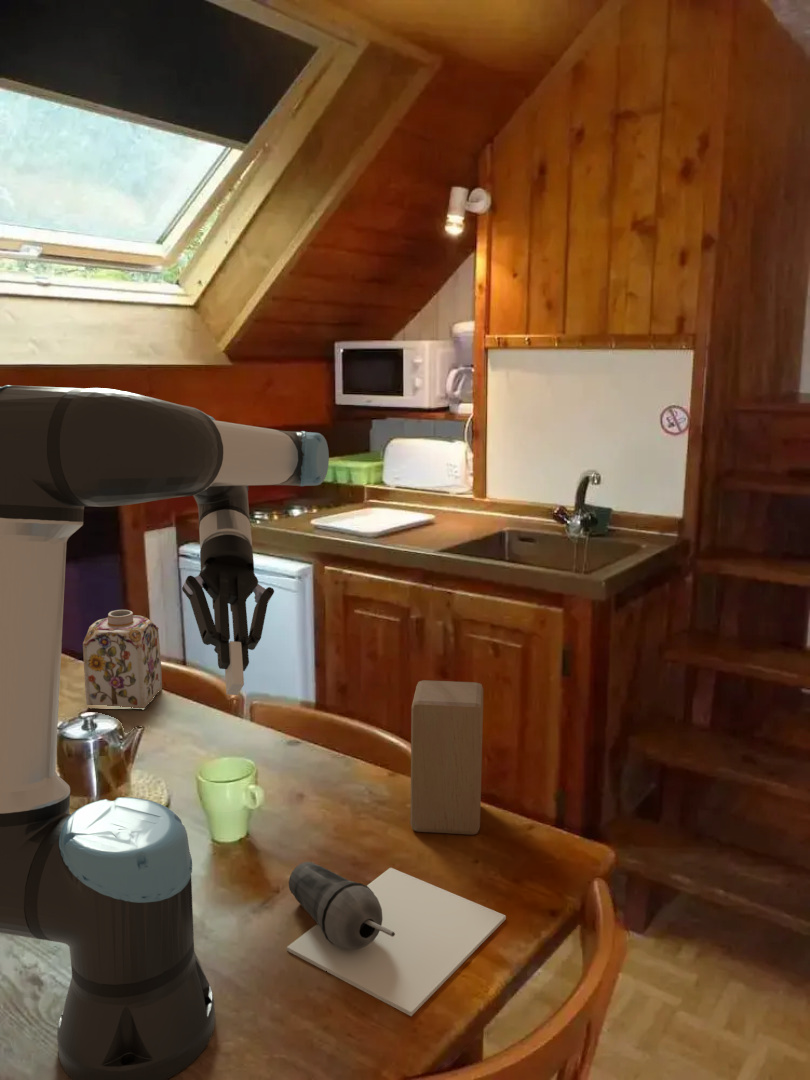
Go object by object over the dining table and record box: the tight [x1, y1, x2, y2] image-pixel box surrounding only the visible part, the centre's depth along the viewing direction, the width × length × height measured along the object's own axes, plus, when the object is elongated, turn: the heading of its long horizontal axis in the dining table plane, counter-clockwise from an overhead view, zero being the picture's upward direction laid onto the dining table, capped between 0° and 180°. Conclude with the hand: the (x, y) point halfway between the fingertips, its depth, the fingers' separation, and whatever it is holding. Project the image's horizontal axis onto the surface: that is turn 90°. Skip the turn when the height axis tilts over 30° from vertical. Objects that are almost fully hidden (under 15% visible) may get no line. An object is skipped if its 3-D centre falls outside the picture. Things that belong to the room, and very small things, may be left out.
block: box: [410, 679, 484, 836], centre depth 129 cm, size 10×10×20 cm
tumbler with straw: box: [288, 861, 395, 950], centre depth 102 cm, size 7×7×20 cm
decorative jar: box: [82, 609, 163, 709], centre depth 173 cm, size 12×12×18 cm
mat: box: [286, 867, 507, 1017], centre depth 104 cm, size 20×18×1 cm
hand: (235, 689), depth 113 cm, fingers closed
